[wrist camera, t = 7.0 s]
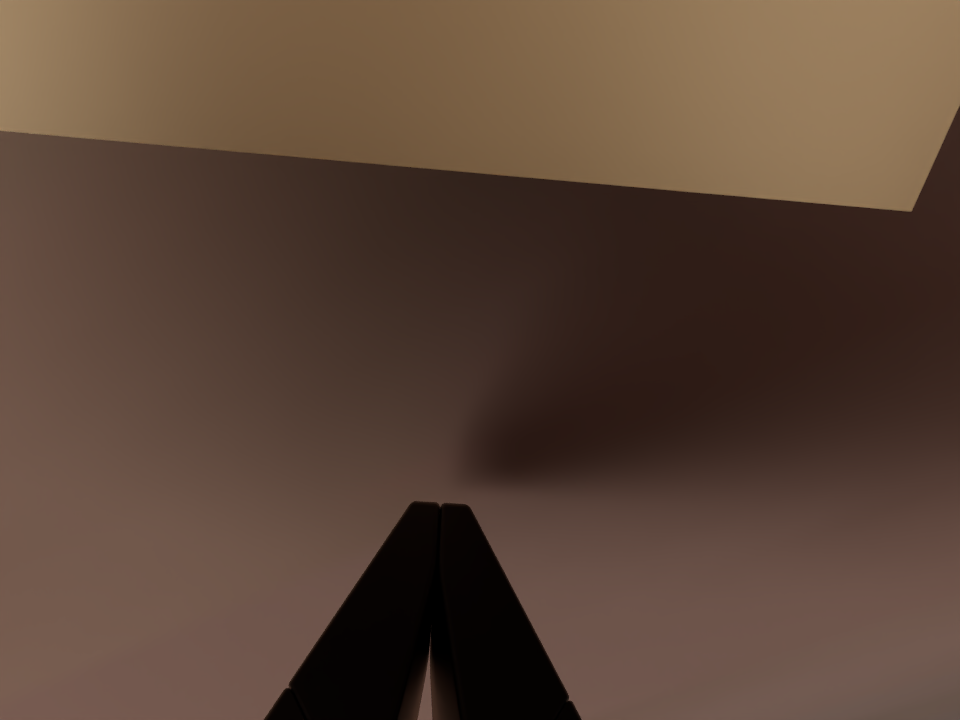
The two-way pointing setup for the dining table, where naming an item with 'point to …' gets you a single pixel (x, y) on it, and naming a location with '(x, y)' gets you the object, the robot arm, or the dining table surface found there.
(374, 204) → the dining table surface
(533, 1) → the oak block
